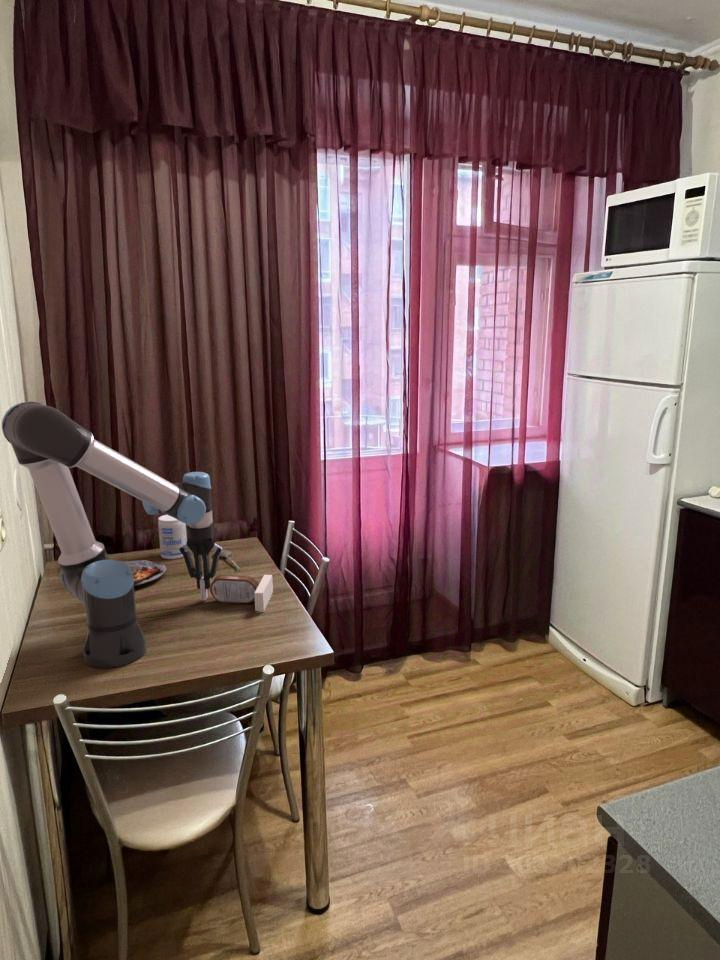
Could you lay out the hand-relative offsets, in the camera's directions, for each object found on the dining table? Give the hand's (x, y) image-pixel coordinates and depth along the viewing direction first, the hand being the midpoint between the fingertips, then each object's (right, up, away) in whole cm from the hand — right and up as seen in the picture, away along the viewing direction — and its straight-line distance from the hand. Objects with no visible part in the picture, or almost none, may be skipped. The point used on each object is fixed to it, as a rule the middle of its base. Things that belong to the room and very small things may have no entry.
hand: (204, 598), depth 192 cm
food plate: (-30, +3, +19) cm, 36 cm away
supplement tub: (-21, +8, +40) cm, 46 cm away
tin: (+10, -1, -1) cm, 10 cm away
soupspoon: (0, +6, +33) cm, 34 cm away
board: (+18, -1, -1) cm, 19 cm away
